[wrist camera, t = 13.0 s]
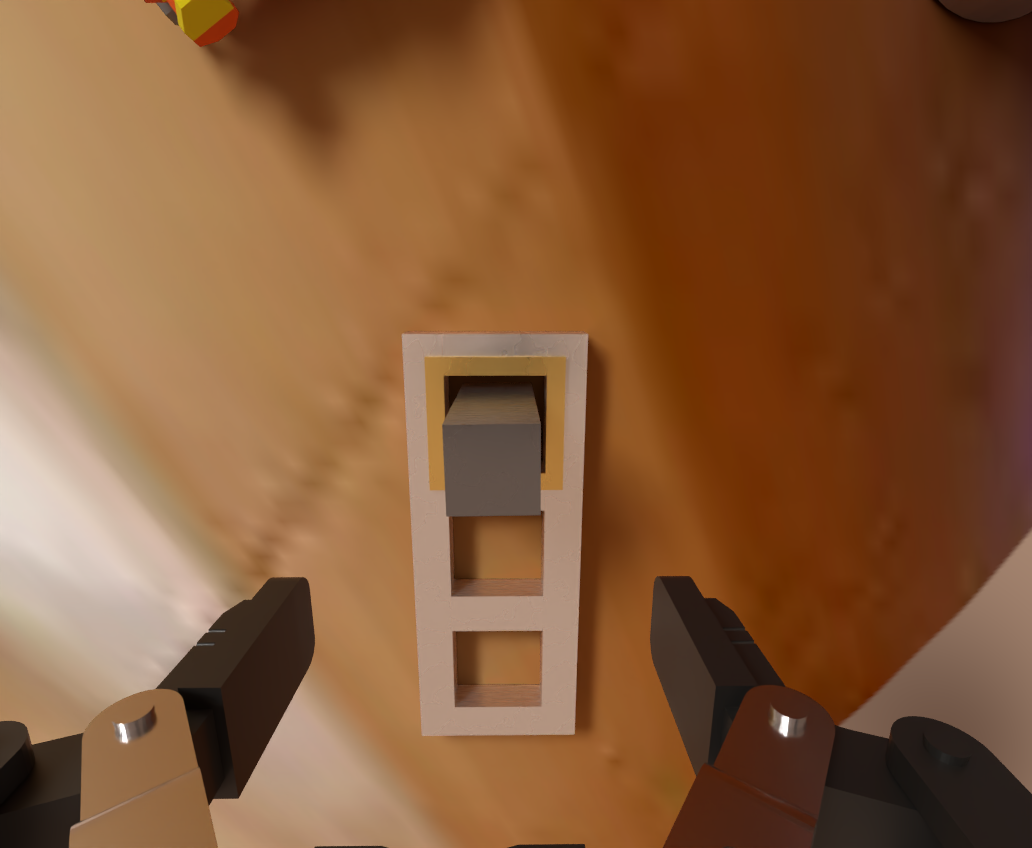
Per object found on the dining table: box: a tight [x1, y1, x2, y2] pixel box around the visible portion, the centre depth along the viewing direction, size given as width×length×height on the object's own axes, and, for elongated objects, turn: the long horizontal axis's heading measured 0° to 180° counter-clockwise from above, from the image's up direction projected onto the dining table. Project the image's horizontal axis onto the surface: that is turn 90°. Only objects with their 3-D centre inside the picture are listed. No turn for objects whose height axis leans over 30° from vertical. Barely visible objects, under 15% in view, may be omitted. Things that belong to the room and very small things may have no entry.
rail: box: [402, 331, 588, 736], centre depth 33 cm, size 10×26×2 cm, turn 0°
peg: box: [442, 382, 541, 517], centre depth 27 cm, size 4×4×10 cm
